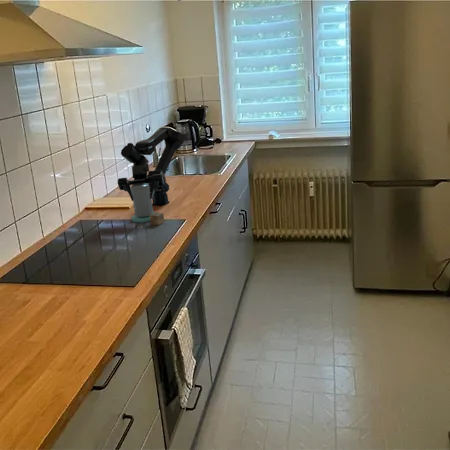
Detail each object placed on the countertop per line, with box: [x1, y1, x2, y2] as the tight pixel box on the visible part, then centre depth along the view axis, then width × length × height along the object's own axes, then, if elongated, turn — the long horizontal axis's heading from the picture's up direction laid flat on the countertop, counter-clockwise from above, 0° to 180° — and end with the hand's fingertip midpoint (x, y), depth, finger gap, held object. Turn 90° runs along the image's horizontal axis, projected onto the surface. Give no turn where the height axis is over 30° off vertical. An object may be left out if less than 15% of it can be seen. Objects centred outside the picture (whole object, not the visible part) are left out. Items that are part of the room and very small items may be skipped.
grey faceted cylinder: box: [130, 183, 154, 217], centre depth 213 cm, size 7×7×12 cm
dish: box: [130, 211, 155, 224], centre depth 216 cm, size 11×11×1 cm
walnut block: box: [149, 211, 165, 226], centre depth 207 cm, size 4×4×4 cm
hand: (141, 199), depth 212 cm, fingers open, 8 cm apart
